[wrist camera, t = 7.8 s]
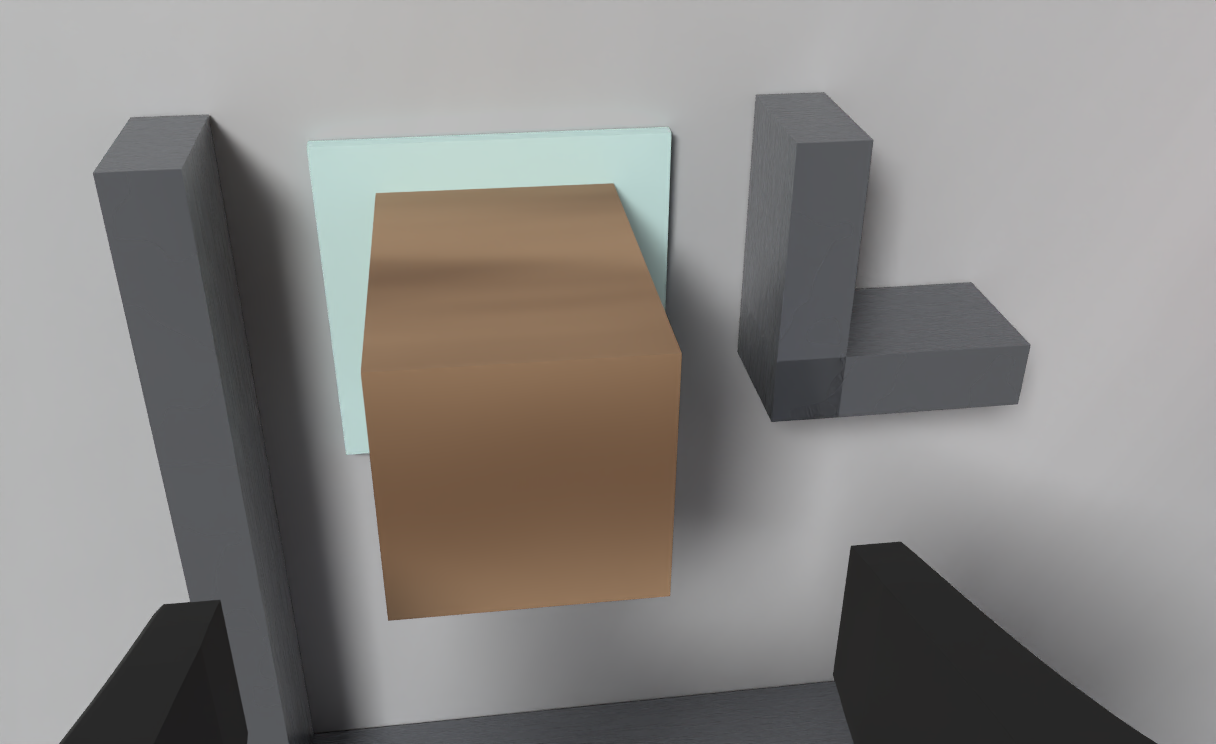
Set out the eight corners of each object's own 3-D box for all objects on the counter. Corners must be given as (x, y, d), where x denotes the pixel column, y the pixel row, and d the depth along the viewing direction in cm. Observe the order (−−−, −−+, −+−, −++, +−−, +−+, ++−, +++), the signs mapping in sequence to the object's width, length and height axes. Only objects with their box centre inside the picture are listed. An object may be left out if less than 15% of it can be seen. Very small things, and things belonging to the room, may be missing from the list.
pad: (658, 423, 23) (661, 431, 23) (347, 445, 22) (346, 454, 22) (667, 126, 20) (671, 132, 20) (307, 140, 19) (306, 147, 19)
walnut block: (610, 384, 22) (669, 595, 17) (395, 398, 21) (388, 620, 16) (613, 183, 20) (682, 353, 15) (375, 193, 19) (361, 372, 14)
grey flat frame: (893, 711, 28) (933, 795, 26) (265, 777, 26) (252, 874, 24) (1007, 86, 20) (1076, 132, 18) (130, 117, 18) (92, 173, 16)
